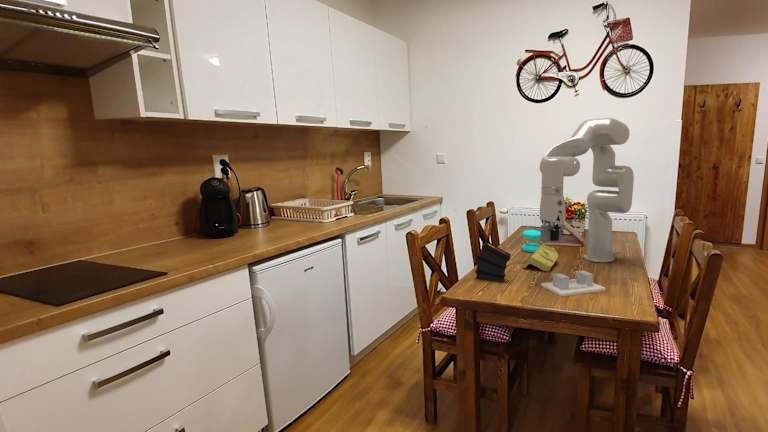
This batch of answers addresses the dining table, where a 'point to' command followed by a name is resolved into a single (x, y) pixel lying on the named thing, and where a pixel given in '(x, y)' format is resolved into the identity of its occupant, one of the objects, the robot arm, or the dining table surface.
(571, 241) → the case
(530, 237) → the cyan spool
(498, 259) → the black ridged block
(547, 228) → the servo
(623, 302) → the dining table surface
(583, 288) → the cradle
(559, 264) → the dining table surface
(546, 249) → the plastic component
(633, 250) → the dining table surface
